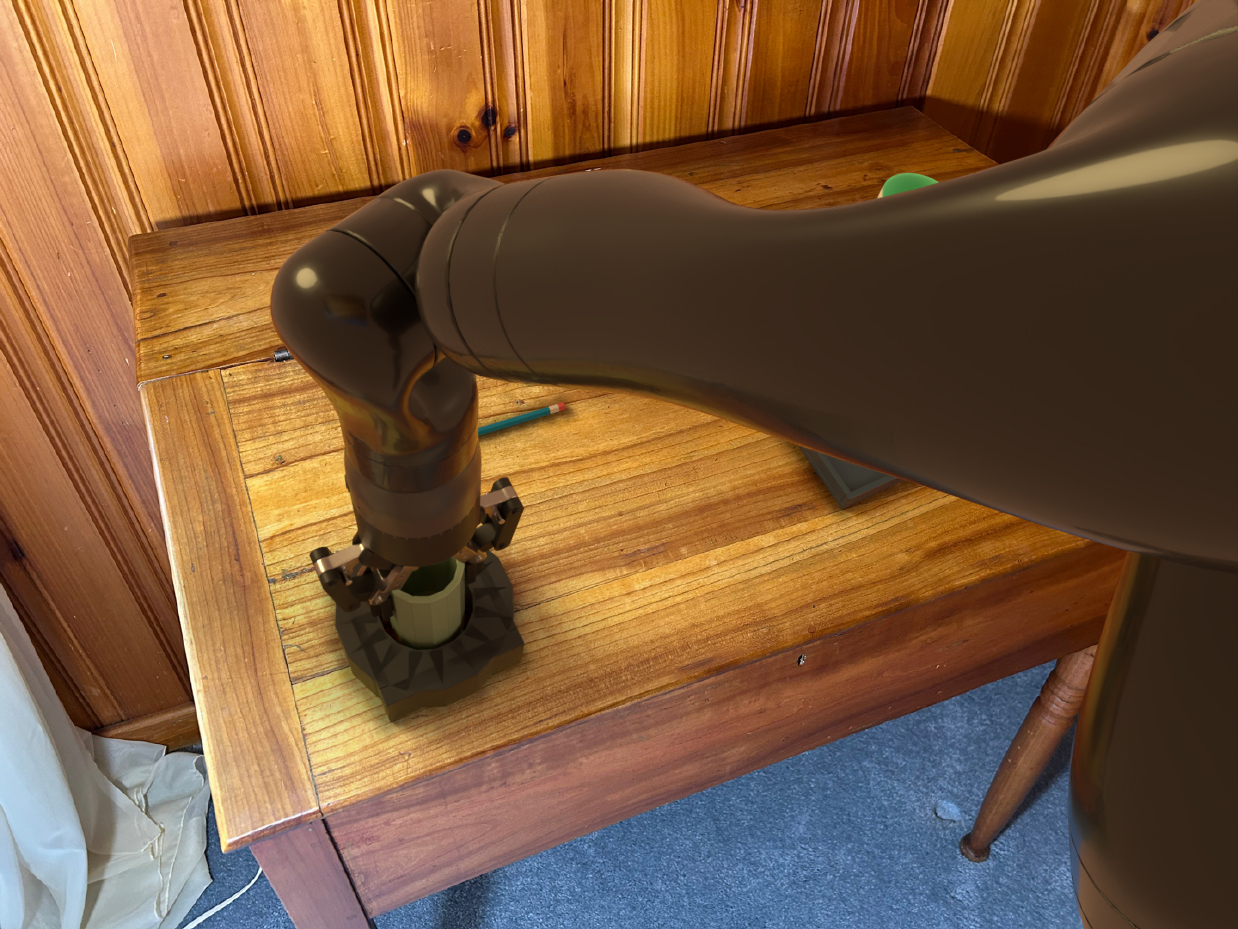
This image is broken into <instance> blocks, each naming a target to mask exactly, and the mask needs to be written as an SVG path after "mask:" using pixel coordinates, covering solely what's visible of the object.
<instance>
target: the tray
mask: <svg viewBox="0 0 1238 929" xmlns="http://www.w3.org/2000/svg"><path fill="white" fill-rule="evenodd" d="M797 446H798V449H799V450H800V451H801V452H802V454H803V455H804V457H805V458H806V460H807V461H808V462H809V464H810V466H811V467H812V468H813V470H814V471H815V473H816V474H817V476H818V477H819V479H820V480H821V482H822V483H823V484H824V486H825V487H826V489H827V491H828V492H829V493H830V495H831V496H832V498H833V499H834V500H835V502H836V503H837V506H839V508H840V509H841V510H844V509H847V508H849V507H850V506H853V505H855V504H857V503H859V502H861V501H864V500H867V499H868V498H870V497H872V496H874V495H877V494H879V493H881V492H883V491H885V490H887V489H890V488H892V487H894V486H897V485H898V484H900V483H904V482H905V481H906V480H903V479H900V478H897V477H894V476H891V475H888V474H884V473H881V472H878V471H875V470H872V469H868V468H865V467H862V466H859V465H856V464H853V463H850V462H847V461H844V460H841V459H838V458H835V457H832V456H829V455H826V454H823V453H820V452H817V451H814V450H811V449H808V448H805V447H802V446H799V445H797Z"/></svg>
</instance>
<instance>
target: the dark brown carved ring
mask: <svg viewBox="0 0 1238 929" xmlns="http://www.w3.org/2000/svg"><path fill="white" fill-rule="evenodd" d="M486 555H487V558H486V559H485V560H483V570H482V571H481V572H480V573H479V574H477V575H476V582H474V583H471V584H469V585H466V583H465V605H466V607H467V608H468V611H469V614H471V615H470V617H469V620H468V622H467V624H466V627H465V629H464V630H462V632H461V634H460V635H459V636H458V637H457V638H456V639H455V640H454V641H452V642H450V643H448V644H446V645H443V646H441V647H439V648H437V649H427V650H415V649H412V648H410V647H407V646H404V645H401V644H400V643H399V642H398V641H397V640H395V639H394V638H393V637H392V636H391V635H390V634H389V633H388V632H386V630H385V627H384V619H383V617H382V615H379V616H376V617H374V616H372V615H371V612H370V610H369V608H368V605H367V603H366V602H360V603H361V606H360V607H359V608H358V609H356V610H355V611H352V612H348V613H345V612H343V610H342V609H341V608H340V607H339V606H338V605H337V604H336V603H335V612H334V613H335V614H334V615H335V617H334V627H335V630H336V633H337V636H338V639H339V642H340V644H341V648H342V650H343V653H344V655H345V657H346V661H347V663H348V665H349V667H350V670H351V673H352V675H353V676H354V677H355V678H356V679H357V680H358V681H360V683H361V684H363V685H364V686H365V687H366V688H367V689H368V690H369V691H370V692H371V693H372V694H373V695H374V696H376V698H378V699H380V702H381V704H382V706H383V709H384V711H385V714H386V716H387V719H388V721H389V723H392V722H395V721H397V720H399V719H401V718H404V717H406V716H408V715H411V714H412V713H414V712H417V711H419V710H420V709H424V708H425V709H426V708H441V707H443V708H444V707H447V706H450V705H451V704H454V703H455V702H458V701H461V700H462V699H464V698H466V697H470V695H473V694H476V693H477V692H478V691H479V690H481V688H482V687H483V686H484V684H486V683H487V682H488V680H490V678H491V677H492V676H494V675H497V674H498V673H501V672H503V671H506V670H508V669H510V668H511V667H512V668H513V667H514V666H516V665H518V664H521V663H522V660H523V655H524V649H525V641H524V639H523V637H522V635H521V633H520V631H519V629H518V627H517V624H516V623H515V607H514V606H515V605H514V604H515V603H514V587H513V584H512V582H511V580H510V577H509V576H508V574H507V572H506V569H505V568H504V566H503V564H502V562H501V560H500V558H499V557H498V556H497V555H496V554H495V553H493V552H492V551H491V549H490V550H488V551H487V552H486ZM361 567H362V564H361V563H359V564H357V565H356V566H355V567H354V572H353V573H352V574H351V575H350V577H354V576H358V572H359V570H360V568H361Z"/></svg>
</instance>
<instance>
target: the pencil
mask: <svg viewBox="0 0 1238 929" xmlns="http://www.w3.org/2000/svg"><path fill="white" fill-rule="evenodd" d="M566 408H567V407H566V404H565V402H563V401H562V402H560V403H556V404H553V405H549V406H546V407H542V408H539V409H536V410H534V411H530V412H526V413H523V414H519V415H516V416H513V417H511V418H507V419H503V420H499V421H497V422H493V423H490V424H486V425H483V426H481V427H478V437H479V436H483V435H487V434H490V433H493V432H496V431H499V430H502V429H506V428H509V427H513V426H516V425H519V424H522V423H525V422H528V421H532V420H535V419H538V418H542V417H545V416H548V415H552V414H555V413H557V412H561V411H564V410H566Z"/></svg>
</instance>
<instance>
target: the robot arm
mask: <svg viewBox="0 0 1238 929" xmlns="http://www.w3.org/2000/svg"><path fill="white" fill-rule="evenodd" d="M938 182H939V183H935V184H932V185H928V186H925V187H921V188H917V189H914V190H910V191H905V192H901V193H897V194H893V195H889V196H885V197H880V198H877V197H876V198H873V199H867V200H864V201H860V202H859V201H858V202H853V203H847V204H841V205H835V206H826V207H816V208H803V209H765V208H759V207H758V208H757V207H751V206H745V205H741V204H738V203H735V202H732V201H730V200H728V199H726V198H724V197H722V196H720V195H719V194H716V193H714V192H713V191H710V190H708V189H707V188H703V187H702V186H700V185H697V184H695V183H692V182H690V181H688V180H686V179H684V178H681V177H677V176H675V175H671V174H667V173H661V172H657V171H649V170H640V169H629V168H605V169H592V170H584V171H577V172H569V173H562V174H557V175H552V176H544V177H539V178H538V177H537V178H531V179H525V180H518V181H514V182H507V183H504V182H501V181H498V180H496V179H492V178H489V177H484V176H480V175H476V174H473V173H469V172H465V171H463V170H462V171H461V170H457V169H450V168H443V169H442V168H441V169H435V170H431V171H427V172H424V173H420V174H418V175H415V176H414V175H413V176H412V177H409V178H407V179H405V180H402V181H400V182H399V183H397V184H395V185H393V186H391V187H390V188H388V189H386V190H384V192H382V193H380V194H379V195H377V196H376V197H374V198H373V199H371V200H370V201H369V202H367V203H366V204H364V205H363V206H361V207H359V208H358V209H356V210H355V211H353V212H352V213H350V214H349V215H346V217H344V218H343V219H341V220H339V221H338V222H336V223H335V224H333V225H332V226H330V227H329V228H327V229H325V231H323V232H321V233H319V234H318V235H317V236H315V237H314V238H312V239H310V240H309V241H307V242H305V243H304V244H303V245H301V246H300V247H298V248H297V249H296V250H294V251H293V252H292V253H291V254H290V255H289V256H288V257H287V258H286V259H285V260H284V262H283V263H282V265H281V266H280V267H279V268H278V271H277V273H276V275H275V278H274V281H273V284H272V288H271V293H270V298H269V299H270V300H269V301H270V302H269V310H270V312H269V313H270V317H271V322H272V325H273V327H274V330H275V332H276V335H277V337H278V338H279V340H280V341H281V343H282V344H283V346H284V347H285V348H286V350H287V351H288V353H289V354H290V355H291V357H292V358H293V359H294V360H295V362H297V364H299V365H300V367H301V368H302V369H303V370H304V371H305V372H306V373H307V374H308V375H309V377H310V378H312V379H313V381H314V382H315V383H316V384H317V385H318V386H319V388H320V389H321V390H322V392H323V393H324V395H325V396H326V398H327V399H328V401H329V402H330V404H331V406H332V407H333V409H334V411H335V413H336V415H337V417H338V422H339V425H340V431H341V435H342V440H343V445H344V446H343V448H344V449H343V465H344V466H343V467H344V483H345V488H346V489H347V491H348V492H347V493H349V496H350V500H351V505H352V509H353V515H354V518H355V524H356V527H357V528H356V529H357V531H356V532H355V533H354V535H353V537H352V541H351V545H350V546H347V547H345V548H342V549H341V550H334V551H333V552H332V551H331V549H330V548H329V547H328V546H320V547H316V548H315V549H313V550H312V551H310V553H309V559H310V560H311V563H312V565H313V568H314V570H315V573H316V576H317V577H318V580H319V583H320V585H321V588H322V589H323V590H324V592H325V593H326V595H328V596H329V598H331V600H332V601H333V602H334V603H335V605H336V604H337V605H338V606H339V607H340V608H341V609H342V610H343V612H345V613H348V612H352V611H355V610H356V609H358V608H359V607H360V606H361V603H360V602H366V603H367V605H368V608H369V610H370V612H371V615H372V616H374V617H376V616H379V615H382V617H383V621H385V620H388V619H390V617H392V616H393V611H392V605H391V599H390V597H389V595H390V594H391V592H392V591H394V590H398V589H401V588H402V586H403V585H404V583H405V582H406V580H407V579H408V577H409V576H410V574H411V573H412V571H416V570H417V569H418V568H419V567H422V566H429V565H433V564H437V563H440V562H442V561H445V560H447V559H449V558H451V557H452V558H454V559H456V560H458V561H460V562H462V563H464V564H465V583H466V585H469V584H471V583H474V582H476V575H477V574H479V573H480V572H481V571H482V570H483V560H485V559H486V558H487V555H486V552H487V551H488V550H490V551H491V550H492V549H494V551H495V552H500V551H503V550H506V549H507V548H508V547H509V546H510V545H511V543H512V540H513V538H514V535H515V532H516V531H517V528H518V525H519V523H520V520H521V517H522V516H523V512H524V510H525V506H524V505H523V503H522V501H521V499H520V497H519V495H518V493H517V491H516V489H515V487H514V486H513V484H512V482H511V481H510V478H509V477H507V476H505V477H504V476H503V477H501V478H498V479H497V480H495V481H494V482H493V484H492V485H491V488H490V491H486V492H485V493H484V494H481V493H482V466H483V463H482V462H483V460H482V449H481V448H482V447H481V442H480V438H479V436H478V428H479V405H480V401H479V400H480V399H479V398H480V395H479V387H478V380H477V376H479V377H482V378H486V379H489V380H494V381H498V382H505V383H512V384H523V385H527V386H528V385H529V386H538V387H548V388H557V389H566V390H568V389H569V390H578V391H589V392H598V393H599V392H600V393H609V394H617V395H623V396H630V397H637V398H642V399H647V400H651V401H656V402H662V403H666V404H671V405H675V406H677V407H682V408H684V409H689V410H692V411H695V412H699V413H702V414H705V415H708V416H711V417H715V418H718V419H720V420H724V421H726V422H730V423H733V424H736V425H738V426H741V427H745V428H747V429H750V430H753V431H756V432H759V433H762V434H764V435H768V436H771V437H773V438H776V439H779V440H782V441H785V442H788V443H791V444H793V445H795V446H798V445H799V446H802V447H805V448H808V449H811V450H814V451H817V452H820V453H823V454H826V455H829V456H832V457H835V458H838V459H841V460H844V461H847V462H850V463H853V464H856V465H859V466H862V467H865V468H868V469H872V470H875V471H878V472H881V473H884V474H888V475H891V476H894V477H897V478H900V479H903V480H905V481H907V482H910V483H912V484H913V483H914V484H916V485H919V486H922V487H925V488H927V489H931V490H934V491H937V492H940V493H943V494H946V495H949V496H952V497H955V498H959V499H961V500H964V501H967V502H970V503H973V504H976V505H979V506H982V507H984V508H988V509H991V510H994V511H997V512H1000V513H1003V514H1007V515H1009V516H1012V517H1015V518H1018V519H1021V520H1025V521H1028V522H1030V523H1032V524H1033V523H1034V524H1037V525H1040V526H1042V527H1046V528H1049V529H1051V530H1056V531H1059V532H1062V533H1065V534H1069V535H1072V536H1075V537H1078V538H1082V539H1085V540H1089V541H1091V542H1095V543H1099V544H1102V545H1105V546H1110V547H1112V548H1117V549H1121V550H1124V551H1126V553H1125V556H1124V559H1123V562H1122V566H1121V568H1120V569H1121V570H1120V573H1119V576H1118V578H1117V582H1116V585H1115V589H1114V592H1113V595H1112V599H1111V601H1110V604H1109V607H1108V610H1107V614H1106V617H1105V620H1104V624H1103V627H1102V630H1101V634H1100V635H1099V639H1098V642H1097V646H1096V650H1095V654H1094V658H1093V661H1092V665H1091V669H1090V673H1089V676H1088V679H1087V683H1086V686H1085V690H1084V694H1083V697H1082V701H1081V704H1080V708H1079V709H1080V710H1079V713H1078V717H1077V722H1076V726H1075V729H1074V735H1073V740H1072V745H1071V752H1070V761H1069V773H1068V784H1067V785H1068V787H1067V798H1066V800H1067V801H1066V804H1067V805H1066V806H1067V809H1066V810H1067V825H1068V826H1067V827H1068V828H1067V829H1068V844H1069V845H1068V846H1069V862H1070V873H1071V874H1070V875H1071V882H1072V890H1073V895H1074V901H1075V904H1076V907H1077V910H1078V913H1079V917H1080V920H1081V923H1082V927H1083V929H1238V0H1196V1H1194V2H1193V3H1192V4H1191V5H1190V6H1189V7H1187V8H1186V9H1185V10H1184V11H1183V12H1181V13H1180V14H1179V15H1178V16H1177V17H1176V18H1174V19H1173V20H1172V21H1171V22H1170V23H1169V24H1168V25H1167V26H1166V27H1164V28H1163V29H1162V30H1161V31H1160V32H1159V33H1157V34H1156V35H1155V36H1154V37H1153V38H1152V39H1151V40H1149V41H1148V43H1146V44H1145V45H1144V46H1143V47H1142V48H1141V49H1140V50H1139V52H1137V54H1136V55H1135V56H1134V57H1133V58H1132V59H1131V60H1130V61H1129V62H1128V63H1127V65H1125V67H1123V68H1122V69H1121V70H1120V72H1118V74H1117V75H1115V76H1114V78H1113V79H1112V80H1110V82H1109V83H1107V85H1106V86H1105V87H1104V88H1103V89H1102V90H1101V91H1100V92H1099V93H1098V94H1097V95H1096V96H1095V97H1094V98H1093V99H1092V100H1091V101H1090V102H1089V104H1088V105H1087V106H1086V107H1085V108H1084V109H1083V110H1082V111H1081V112H1079V113H1078V114H1077V115H1076V116H1075V117H1074V118H1073V119H1072V120H1071V121H1070V122H1069V123H1068V124H1067V126H1065V128H1064V129H1063V130H1062V131H1061V132H1060V134H1058V136H1056V137H1055V139H1054V140H1053V141H1052V142H1051V143H1050V144H1049V146H1048V147H1047V148H1046V149H1044V150H1042V151H1039V152H1036V153H1034V154H1030V155H1028V156H1024V157H1021V158H1018V159H1015V160H1014V159H1013V160H1011V161H1008V162H1004V163H1001V164H998V165H994V166H991V167H988V168H985V169H981V170H979V171H975V172H972V173H968V174H965V175H962V176H961V175H960V176H957V177H954V178H950V179H946V180H943V181H938ZM480 524H481V525H480ZM479 525H480V526H479ZM359 563H361V564H362V567H361V568H360V570H359V572H358V576H354V577H350V575H351V574H352V573H353V572H354V567H355V566H356V565H357V564H359Z"/></svg>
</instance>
